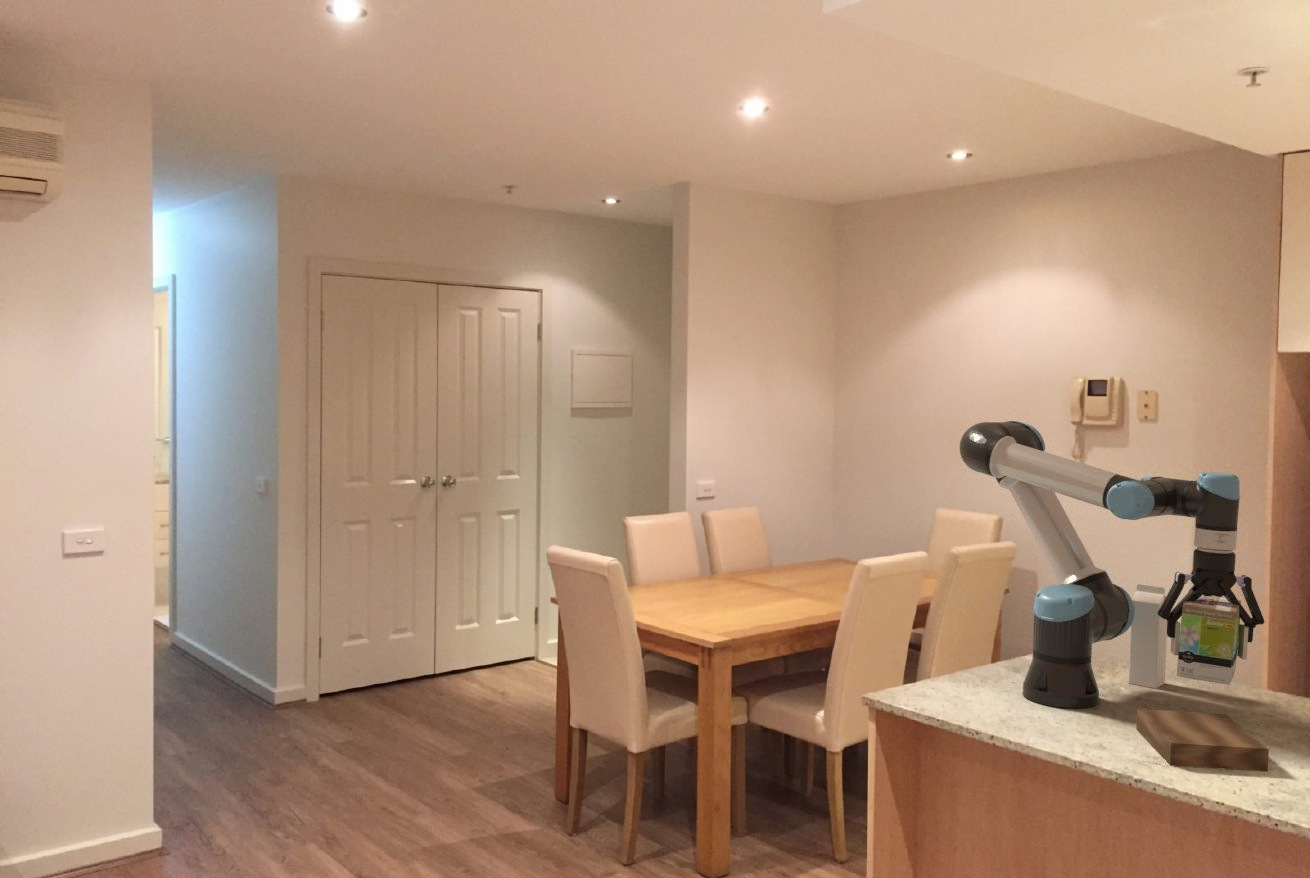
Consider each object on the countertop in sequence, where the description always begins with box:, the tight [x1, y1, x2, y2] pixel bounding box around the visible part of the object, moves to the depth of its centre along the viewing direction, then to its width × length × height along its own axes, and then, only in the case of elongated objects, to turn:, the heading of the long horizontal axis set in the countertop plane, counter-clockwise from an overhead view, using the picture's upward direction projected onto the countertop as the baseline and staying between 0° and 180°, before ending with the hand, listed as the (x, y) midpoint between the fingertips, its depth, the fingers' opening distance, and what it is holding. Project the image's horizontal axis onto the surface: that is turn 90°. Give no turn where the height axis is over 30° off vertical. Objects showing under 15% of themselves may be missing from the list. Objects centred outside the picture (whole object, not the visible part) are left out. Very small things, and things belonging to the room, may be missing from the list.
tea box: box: [1176, 595, 1242, 686], centre depth 218 cm, size 15×10×15 cm, turn 149°
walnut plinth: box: [1136, 708, 1270, 773], centre depth 198 cm, size 16×20×4 cm
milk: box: [1128, 583, 1168, 689], centre depth 242 cm, size 6×6×22 cm
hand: (1208, 655), depth 219 cm, fingers closed on tea box, 12 cm apart
